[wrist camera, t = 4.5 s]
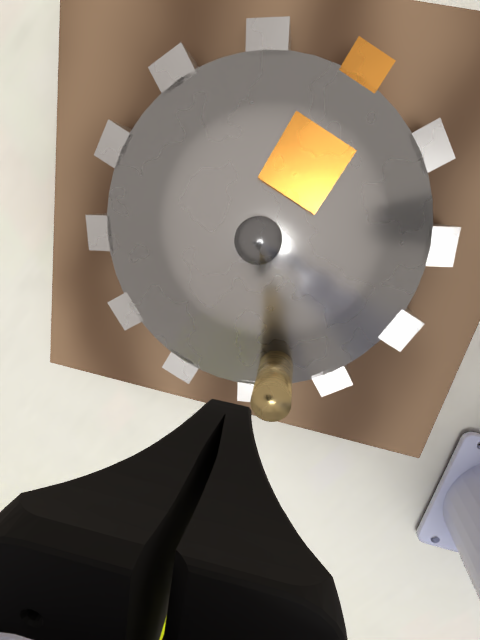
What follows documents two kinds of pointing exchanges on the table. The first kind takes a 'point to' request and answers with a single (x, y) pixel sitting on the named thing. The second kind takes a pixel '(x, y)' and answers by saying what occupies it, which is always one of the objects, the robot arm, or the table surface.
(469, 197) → the base board
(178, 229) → the wheel
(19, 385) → the table surface
